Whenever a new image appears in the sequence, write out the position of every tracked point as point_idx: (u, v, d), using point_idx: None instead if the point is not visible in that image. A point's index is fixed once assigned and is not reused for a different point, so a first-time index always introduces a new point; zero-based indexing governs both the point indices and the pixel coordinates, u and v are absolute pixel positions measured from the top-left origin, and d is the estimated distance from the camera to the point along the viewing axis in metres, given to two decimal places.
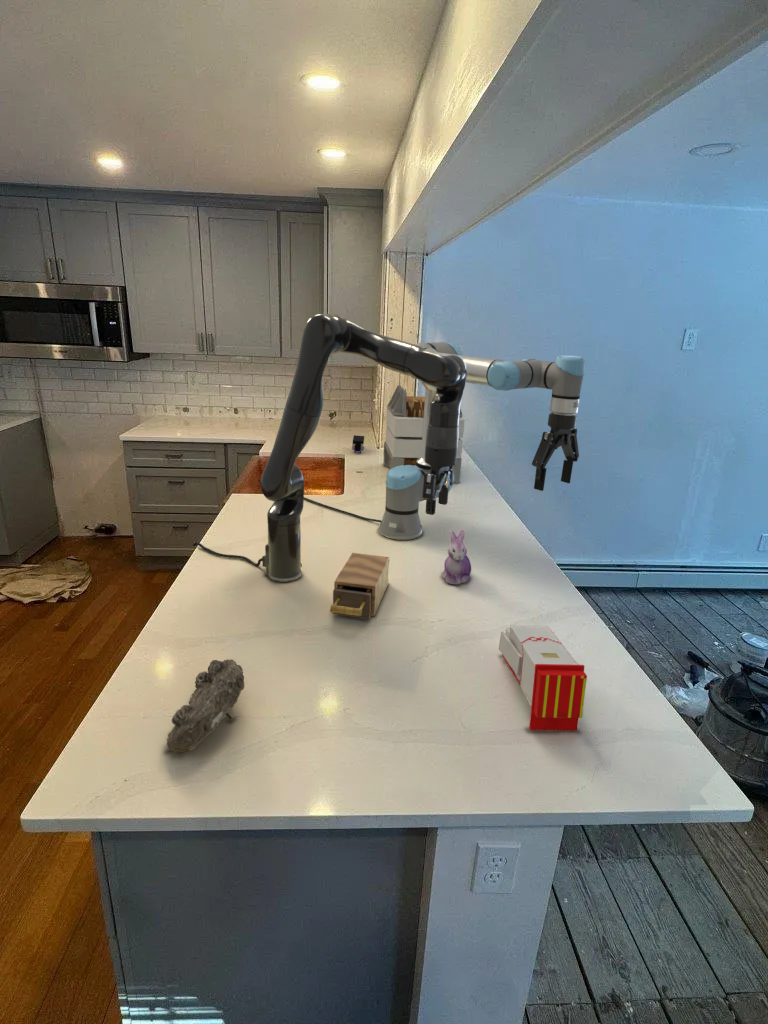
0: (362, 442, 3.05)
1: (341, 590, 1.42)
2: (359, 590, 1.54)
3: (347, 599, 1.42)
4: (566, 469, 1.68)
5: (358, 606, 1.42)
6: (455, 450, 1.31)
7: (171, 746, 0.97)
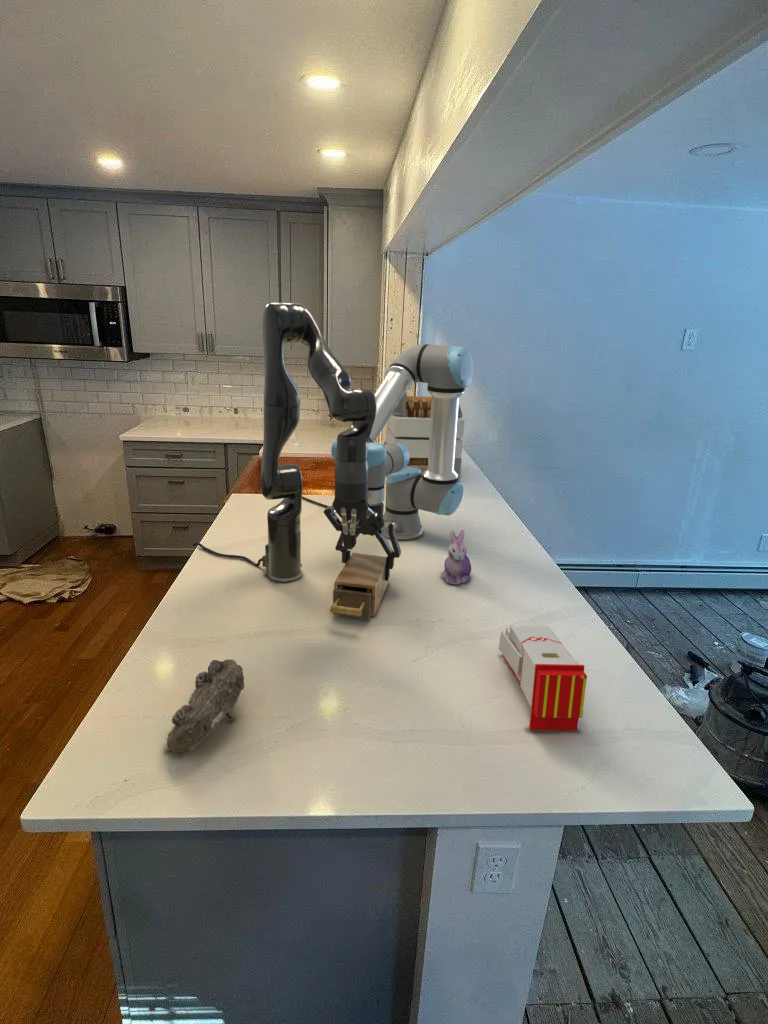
0: None
1: (341, 590, 1.42)
2: (359, 590, 1.54)
3: (347, 599, 1.42)
4: None
5: (358, 606, 1.42)
6: None
7: (171, 746, 0.97)
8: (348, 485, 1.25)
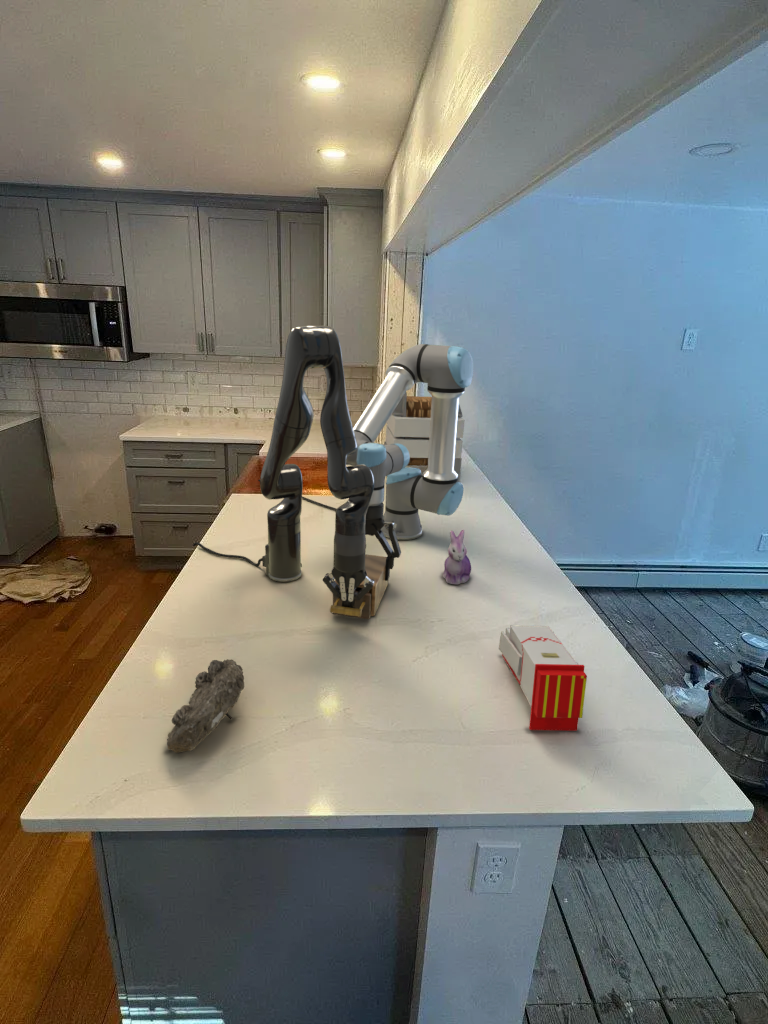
0: None
1: None
2: (359, 590, 1.54)
3: None
4: None
5: (358, 606, 1.42)
6: None
7: (171, 746, 0.97)
8: (346, 557, 1.30)
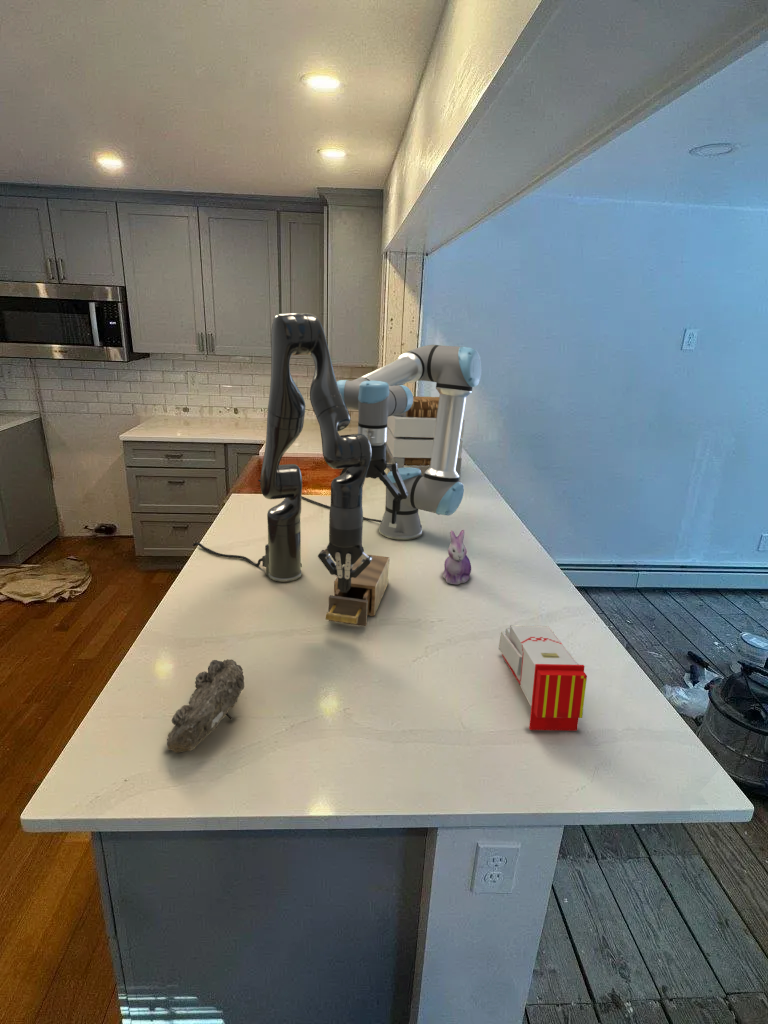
0: None
1: (337, 597, 1.39)
2: (356, 596, 1.51)
3: (343, 606, 1.39)
4: None
5: (354, 613, 1.39)
6: None
7: (171, 746, 0.97)
8: (342, 531, 1.24)
